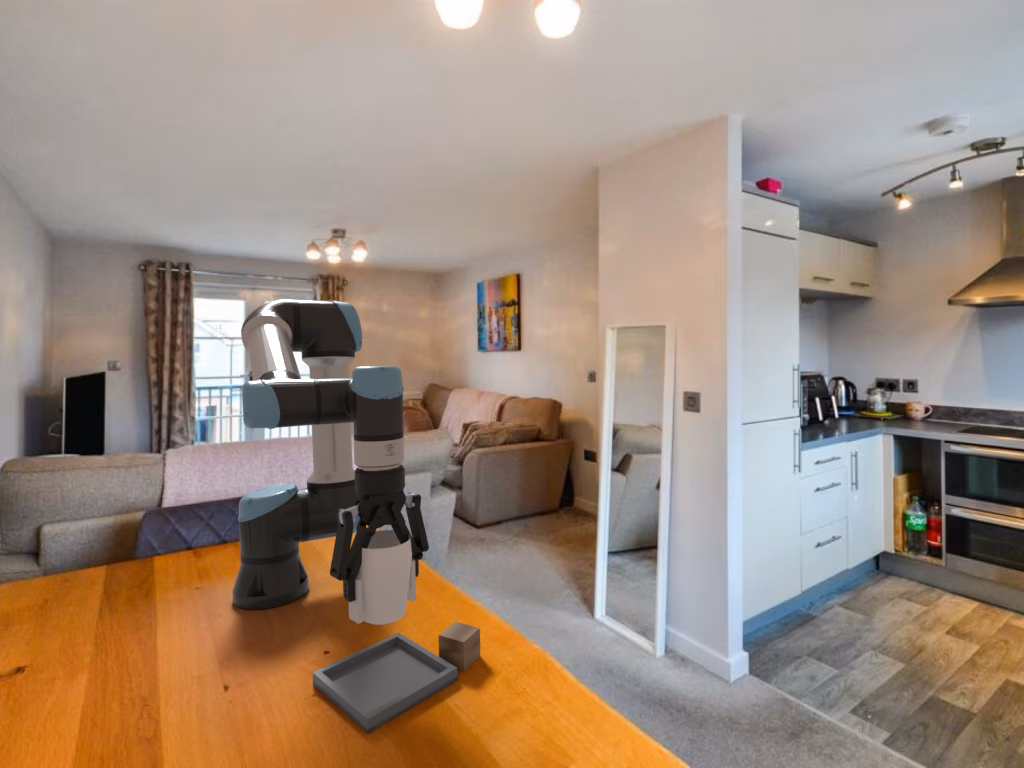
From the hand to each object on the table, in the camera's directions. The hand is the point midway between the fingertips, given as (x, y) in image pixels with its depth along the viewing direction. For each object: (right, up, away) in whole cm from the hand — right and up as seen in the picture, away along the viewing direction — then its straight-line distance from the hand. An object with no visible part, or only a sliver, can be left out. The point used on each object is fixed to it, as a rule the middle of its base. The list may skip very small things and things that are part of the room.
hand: (383, 608), depth 82 cm
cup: (0, -1, 0) cm, 1 cm away
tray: (0, -12, +1) cm, 12 cm away
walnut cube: (+11, -12, +7) cm, 17 cm away
